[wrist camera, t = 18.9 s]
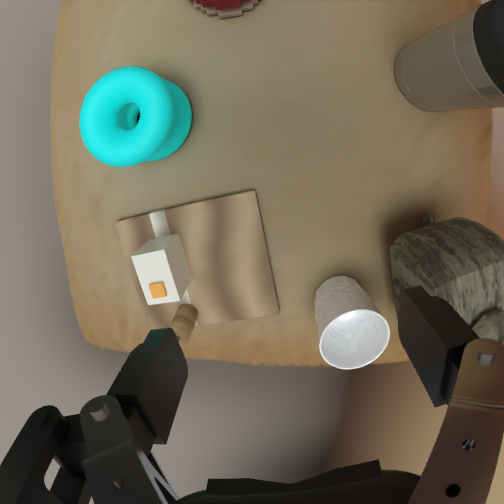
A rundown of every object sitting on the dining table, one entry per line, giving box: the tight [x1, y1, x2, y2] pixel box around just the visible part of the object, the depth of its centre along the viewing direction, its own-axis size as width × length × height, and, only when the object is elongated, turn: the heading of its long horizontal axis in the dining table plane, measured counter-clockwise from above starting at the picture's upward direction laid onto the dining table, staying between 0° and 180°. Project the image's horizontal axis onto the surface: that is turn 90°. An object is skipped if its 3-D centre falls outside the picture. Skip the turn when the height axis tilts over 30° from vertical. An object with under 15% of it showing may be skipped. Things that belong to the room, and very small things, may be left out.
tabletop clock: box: [390, 214, 504, 345], centre depth 27 cm, size 14×9×25 cm, turn 17°
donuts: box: [80, 66, 192, 167], centre depth 30 cm, size 10×10×10 cm
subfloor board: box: [115, 189, 280, 329], centre depth 40 cm, size 18×16×1 cm
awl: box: [169, 304, 198, 347], centre depth 37 cm, size 3×3×9 cm
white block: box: [131, 233, 192, 305], centre depth 36 cm, size 4×6×7 cm, turn 12°
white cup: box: [314, 276, 390, 369], centre depth 36 cm, size 8×8×10 cm
